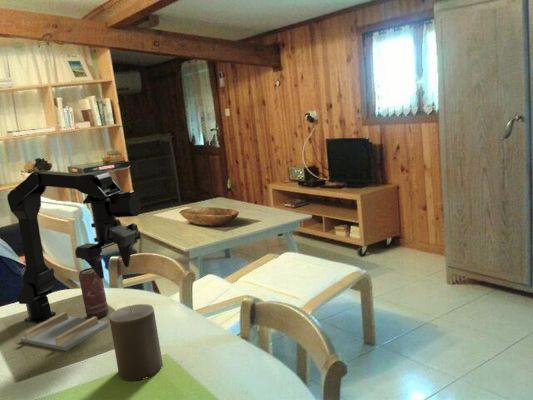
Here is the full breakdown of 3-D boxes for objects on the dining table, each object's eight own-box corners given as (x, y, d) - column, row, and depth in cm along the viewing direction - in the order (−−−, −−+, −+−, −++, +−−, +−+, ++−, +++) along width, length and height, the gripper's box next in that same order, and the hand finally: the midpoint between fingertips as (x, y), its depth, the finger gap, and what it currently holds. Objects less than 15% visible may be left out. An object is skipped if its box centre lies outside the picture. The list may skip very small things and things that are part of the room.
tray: (21, 341, 134) (18, 331, 134) (64, 318, 147) (62, 309, 146) (66, 350, 126) (64, 339, 125) (109, 325, 138) (107, 315, 137)
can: (112, 309, 149) (104, 265, 146) (103, 319, 143) (94, 273, 140) (93, 311, 150) (84, 267, 147) (83, 320, 143) (74, 274, 141)
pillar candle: (140, 384, 105) (129, 318, 103) (109, 375, 111) (98, 312, 108) (172, 362, 113) (162, 300, 111) (141, 355, 119) (131, 295, 116)
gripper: (98, 228, 123) (109, 287, 126) (150, 209, 139) (159, 262, 142) (68, 227, 129) (80, 284, 132) (121, 209, 145) (130, 260, 148)
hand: (114, 272), depth 138 cm, fingers open, 9 cm apart
